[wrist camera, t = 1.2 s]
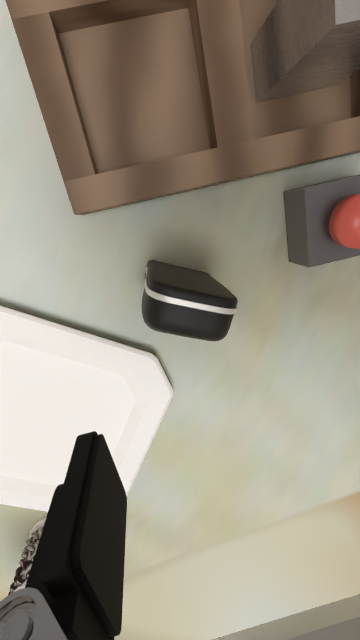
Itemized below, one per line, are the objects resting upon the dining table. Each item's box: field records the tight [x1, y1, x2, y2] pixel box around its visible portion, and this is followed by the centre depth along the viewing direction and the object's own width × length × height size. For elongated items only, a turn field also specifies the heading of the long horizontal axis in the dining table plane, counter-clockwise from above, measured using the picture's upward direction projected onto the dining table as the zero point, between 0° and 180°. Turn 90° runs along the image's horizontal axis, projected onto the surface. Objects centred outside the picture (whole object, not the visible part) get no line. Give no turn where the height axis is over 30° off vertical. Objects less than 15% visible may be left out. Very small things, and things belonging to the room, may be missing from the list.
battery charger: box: [142, 261, 237, 341], centre depth 26 cm, size 7×4×11 cm, turn 76°
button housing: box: [284, 175, 360, 267], centre depth 29 cm, size 7×7×4 cm
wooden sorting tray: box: [6, 0, 360, 215], centre depth 20 cm, size 28×15×12 cm, turn 102°
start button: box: [329, 194, 360, 249], centre depth 25 cm, size 4×4×2 cm
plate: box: [0, 305, 173, 512], centre depth 34 cm, size 25×25×2 cm
